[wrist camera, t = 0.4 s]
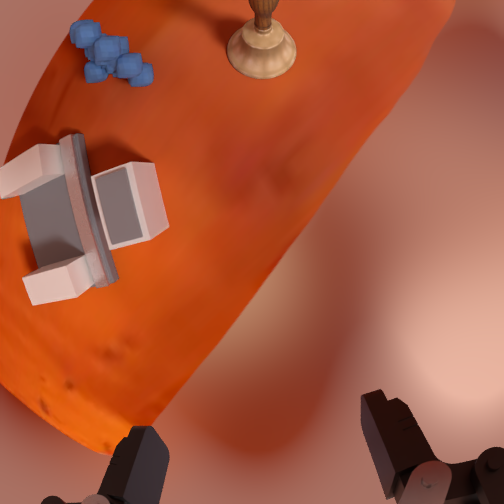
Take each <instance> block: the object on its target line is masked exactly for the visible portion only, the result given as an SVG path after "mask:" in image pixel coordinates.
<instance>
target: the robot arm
mask: <svg viewBox="0 0 504 504" xmlns="http://www.w3.org/2000/svg"><path fill="white" fill-rule="evenodd" d="M361 426H362V430H363V434H364V436H365V439H366V442H367V445H368V447H369V450H370V453H371V456H372V459H373V462H374V464H375V467H376V470H377V473H378V476H379V479H380V482H381V485H382V488H383V491H384V494H385V497H386V499H390V498H393V497H395V500H396V503H397V504H504V448H501V447H492V448H489V449H487V450H485V451H484V452H483V453H482V454H481V455H480V456H479V457H478V459H475V460H471V461H466V462H462V463H457V464H448V463H444V462H442V461H440V460H439V459H437V457H436V456H435V455H434V453H433V451H432V449H431V447H430V445H429V444H428V442H427V440H426V438H425V436H424V434H423V432H422V430H421V429H420V427H419V426H418V423H417V421H416V420H415V418H414V417H413V414H412V412H411V411H410V409H409V407H408V405H407V404H405V403H404V402H402V401H401V400H400V399H398V398H394V399H392V400H389V401H388V400H387V399H386V397H385V395H384V393H383V391H382V390H381V389H379V390H376V391H373V392H370V393H366V394H363V395H362V396H361ZM168 463H169V450H168V448H167V446H166V445H165V443H164V442H163V441H162V439H161V438H160V437H159V435H158V434H157V432H156V431H155V429H154V428H153V427H152V426H133V427H132V428H131V430H130V432H129V435H128V437H124V438H123V439H122V440H121V441H120V442H119V444H118V445H117V446H116V448H115V451H114V453H113V457H112V458H111V461H110V465H109V466H108V468H107V471H106V473H105V476H104V478H103V481H102V483H101V486H100V489H99V491H98V493H97V494H95V495H90V496H88V497H86V498H85V499H84V500H83V501H82V502H81V503H65V502H64V501H63V500H62V499H60V498H59V497H57V496H49V497H47V498H45V499H44V500H43V501H42V503H41V504H159V501H160V497H161V492H162V488H163V484H164V480H165V476H166V472H167V467H168Z"/></svg>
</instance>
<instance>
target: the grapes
mask: <svg viewBox="0 0 504 504" xmlns="http://www.w3.org/2000/svg"><path fill="white" fill-rule="evenodd" d="M70 39H71V42H72V43H75V44H76V47H77V48H81V49H82V48H84V49H85V57H88V60H91V61H90V62H87V63H86V65H85V67H84V74H85V79H86V82H87V83H98V82H102V81H104V80H106V79H107V77H108V75H109V74H113V77H118V78H128V82H129V84H130V85H131V87H143V86H148V85H150V84H151V83H152V82H153V79H154V73H153V68H152V64H148V63H143V62H142V57H141V53H129V43H128V38H127V37H119V36H107V35H106V34H101V27H100V23H99V22H93V20H80V21H76V22H74V23H73V24H72V25H71V27H70Z"/></svg>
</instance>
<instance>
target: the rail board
mask: <svg viewBox="0 0 504 504" xmlns="http://www.w3.org/2000/svg"><path fill="white" fill-rule="evenodd" d="M17 195H19V196H20V201H21V206H22V210H23V215H24V219H25V223H26V227H27V231H28V235H29V238H30V242H31V245H32V249H33V252H34V255H35V259H36V262H37V265H38V268H39V269H37V270H35V271H32V272H31V273H29V274H27V275H25V276H24V277H23V278H22V279H23V282H24V284H25V287H26V290H27V292H28V295H29V298H30V300H31V303H32V305H38V304H43V303H49V302H54V301H60V300H65V299H70V298H76V297H78V296H79V295H81V294H82V293H83V292H84V291H86V290H87V289H88V288H90V287H95V286H96V288H100V287H105V286H109V285H110V284H111V283H114V282H116V281H117V280H118V279H119V276H118V273H117V270H116V267H115V264H114V261H113V258H112V255H111V251H110V250H109V247H108V243H107V240H106V236H105V233H104V229H103V226H102V222H101V218H100V214H99V210H98V206H97V202H96V198H95V194H94V189H93V185H92V180H91V173H90V168H89V163H88V158H87V152H86V146H85V140H84V134H80V133H77V134H75V135H74V134H70V135H68V136H66V137H64V138H62V139H60V140H59V143H57V144H55V145H52V144H37V145H35V146H33V147H32V148H30V149H28V150H27V151H25V152H23V153H22V154H20V155H19V156H17V157H16V158H14V159H13V160H11V161H10V162H8V163H7V164H5V165H4V166H2V167H1V168H0V196H1V199H6V198H11V197H15V196H17Z"/></svg>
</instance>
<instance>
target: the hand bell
mask: <svg viewBox="0 0 504 504" xmlns="http://www.w3.org/2000/svg"><path fill="white" fill-rule="evenodd" d="M278 2H279V0H249V4H250V6H251V8H252V10H253V11H254V12H255V18H252V19H250V20H249V21H247V22H246V23H245V25H244V26H243V27H242V28H240V29H239V30H237V31H236V32H235V33H234V34H233V35H232V37H231V38H230V40H229V42H228V46H227V55H228V58H229V61H230V63H231V64H232V66H233V67H234V68H235V69H236V70H237V71H239V72H240V73H242V74H243V75H246V76H248V77H251V78H256V79H269V78H274V77H277V76H279V75H281V74H283V73H285V72H286V71H287V70H288V69H289V68H290V67H291V66H292V65H293V63H294V61H295V58H296V45H295V42H294V40H293V39H292V37H291V36H290V35H289V34H288V33H287V32H286V31H285V30H284V29H283V27H282V26H281V24H280V23H279V22H278V21H276V20H274V19H272V18H271V14H272V12H273V11H274V10H275V8H276V7H277V4H278Z"/></svg>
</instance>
